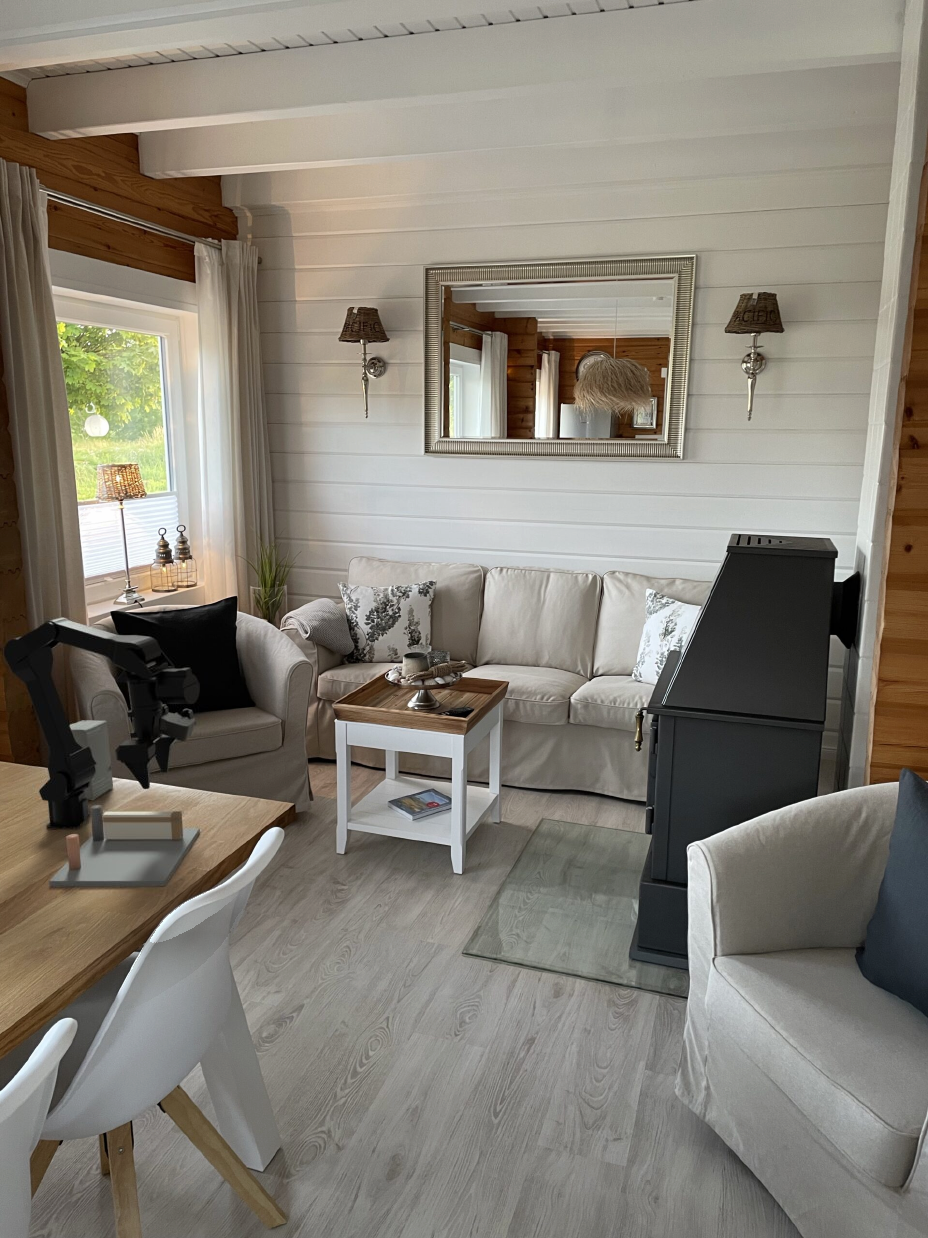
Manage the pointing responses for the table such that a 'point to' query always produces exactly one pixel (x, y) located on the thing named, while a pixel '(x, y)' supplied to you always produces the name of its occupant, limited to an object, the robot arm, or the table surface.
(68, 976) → the table surface
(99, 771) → the skincare box
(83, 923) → the table surface
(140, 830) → the gate
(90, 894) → the table surface
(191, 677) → the robot arm
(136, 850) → the board
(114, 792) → the table surface
